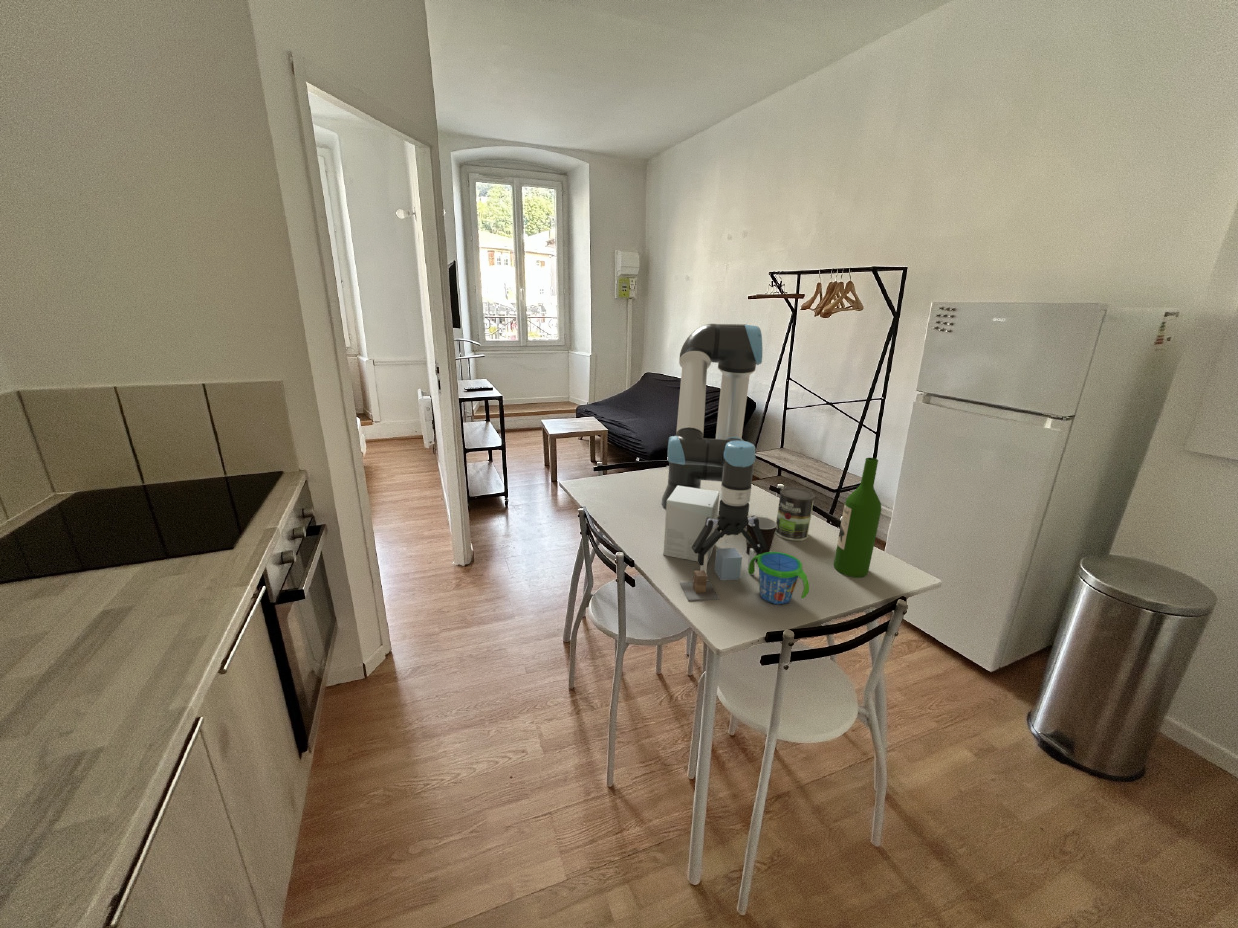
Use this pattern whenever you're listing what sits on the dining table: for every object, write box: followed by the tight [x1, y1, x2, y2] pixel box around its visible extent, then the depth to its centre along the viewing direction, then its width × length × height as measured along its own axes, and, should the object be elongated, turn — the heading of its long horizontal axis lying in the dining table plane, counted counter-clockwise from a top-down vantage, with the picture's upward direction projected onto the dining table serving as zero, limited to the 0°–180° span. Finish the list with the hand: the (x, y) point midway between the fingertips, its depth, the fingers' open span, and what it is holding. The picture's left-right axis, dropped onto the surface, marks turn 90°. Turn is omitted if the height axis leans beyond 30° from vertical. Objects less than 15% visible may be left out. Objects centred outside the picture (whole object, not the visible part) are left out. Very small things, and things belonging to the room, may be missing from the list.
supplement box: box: [662, 485, 720, 564], centre depth 144 cm, size 13×13×18 cm
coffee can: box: [775, 487, 816, 542], centre depth 157 cm, size 10×10×14 cm
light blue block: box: [714, 547, 743, 581], centre depth 133 cm, size 5×5×7 cm
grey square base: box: [679, 570, 720, 602], centre depth 125 cm, size 8×8×5 cm
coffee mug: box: [745, 515, 777, 556], centre depth 145 cm, size 12×9×10 cm
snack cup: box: [747, 551, 810, 605], centre depth 122 cm, size 16×10×10 cm
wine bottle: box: [833, 457, 882, 578], centre depth 133 cm, size 9×9×32 cm
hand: (726, 573), depth 134 cm, fingers open, 13 cm apart
